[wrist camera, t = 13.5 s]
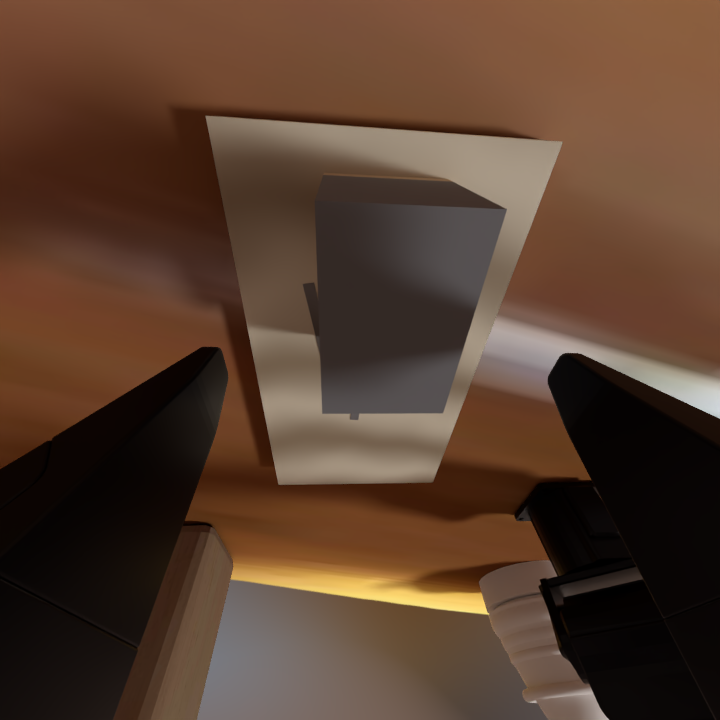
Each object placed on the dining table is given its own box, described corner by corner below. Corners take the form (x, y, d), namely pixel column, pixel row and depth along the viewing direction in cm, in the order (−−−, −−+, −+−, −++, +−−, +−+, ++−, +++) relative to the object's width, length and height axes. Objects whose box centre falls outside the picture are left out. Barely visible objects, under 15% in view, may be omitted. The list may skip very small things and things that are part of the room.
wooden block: (106, 523, 29) (-173, 1007, 13) (215, 520, 29) (73, 978, 14) (148, 563, 35) (-9, 925, 19) (237, 559, 36) (156, 907, 20)
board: (428, 465, 25) (432, 483, 24) (281, 467, 24) (278, 485, 23) (540, 139, 12) (563, 142, 11) (219, 116, 11) (204, 115, 10)
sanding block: (416, 339, 15) (442, 413, 11) (326, 337, 15) (322, 413, 11) (448, 179, 11) (507, 209, 7) (323, 172, 11) (314, 200, 7)
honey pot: (476, 594, 49) (531, 785, 35) (481, 567, 41) (554, 799, 27) (558, 585, 48) (648, 777, 34) (579, 555, 40) (708, 789, 26)
